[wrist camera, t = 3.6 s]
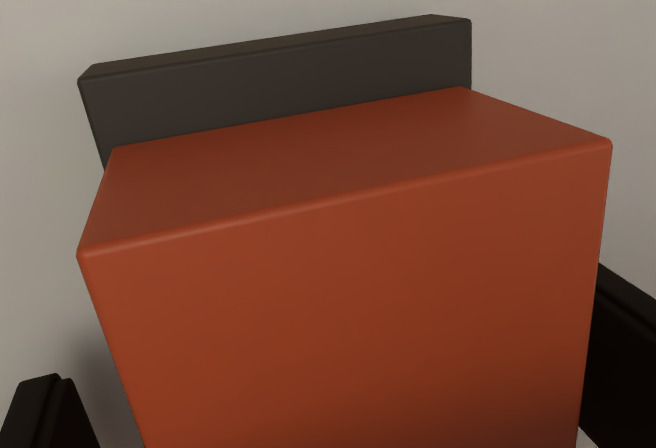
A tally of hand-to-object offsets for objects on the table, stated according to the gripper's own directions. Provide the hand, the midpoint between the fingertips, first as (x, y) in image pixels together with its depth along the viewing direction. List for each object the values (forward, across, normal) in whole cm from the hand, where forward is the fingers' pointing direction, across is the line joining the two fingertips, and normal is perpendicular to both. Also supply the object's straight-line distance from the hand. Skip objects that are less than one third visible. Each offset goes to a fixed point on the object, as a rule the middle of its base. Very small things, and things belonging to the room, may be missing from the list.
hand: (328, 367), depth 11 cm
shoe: (+1, 0, 0) cm, 1 cm away
